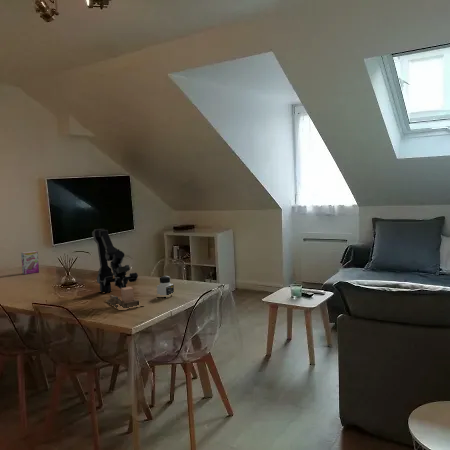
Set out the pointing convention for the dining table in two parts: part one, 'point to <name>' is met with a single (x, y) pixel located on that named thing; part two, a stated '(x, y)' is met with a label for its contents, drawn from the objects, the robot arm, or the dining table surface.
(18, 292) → the dining table surface
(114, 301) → the walnut chute
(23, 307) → the dining table surface
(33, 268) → the candy bar box
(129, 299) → the terracotta block
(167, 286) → the medicine bottle
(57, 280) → the dining table surface
